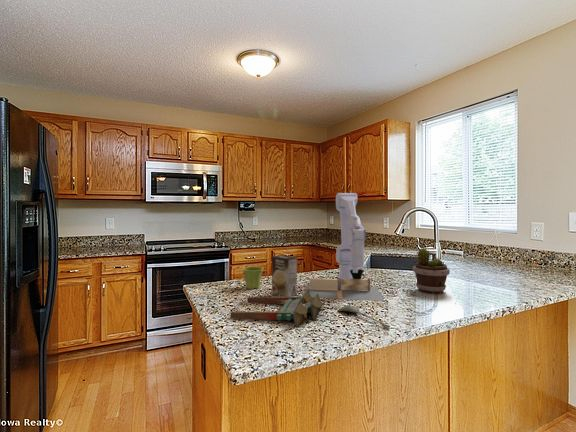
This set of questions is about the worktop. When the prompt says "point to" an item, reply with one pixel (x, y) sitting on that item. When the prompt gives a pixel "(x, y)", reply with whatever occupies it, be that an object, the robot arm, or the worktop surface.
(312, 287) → the board
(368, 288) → the tan wooden plank
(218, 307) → the worktop surface
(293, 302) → the miniature gate
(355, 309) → the soupspoon
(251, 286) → the plant pot
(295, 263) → the coffee box
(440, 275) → the flowerpot
